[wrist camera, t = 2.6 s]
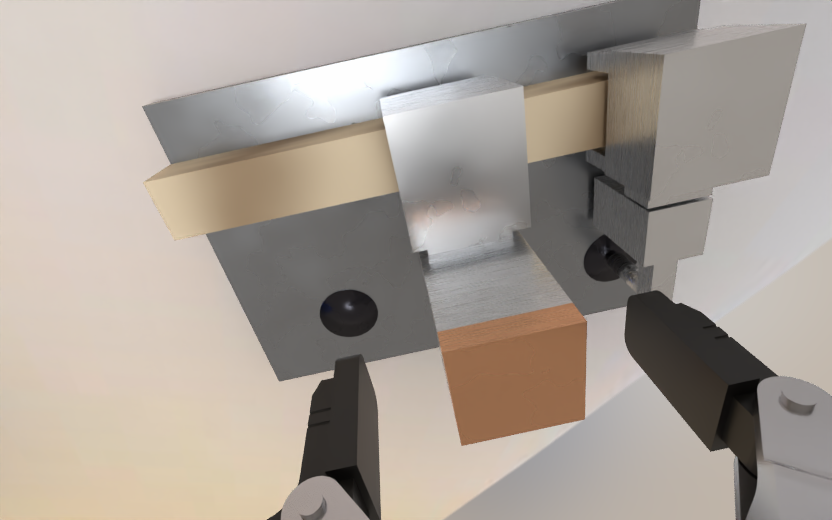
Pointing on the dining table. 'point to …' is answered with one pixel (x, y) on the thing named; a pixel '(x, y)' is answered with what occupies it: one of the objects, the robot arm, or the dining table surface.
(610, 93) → the fixed leg
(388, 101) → the slide leg
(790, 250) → the dining table surface
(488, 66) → the bolt plate
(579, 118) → the divider rail
